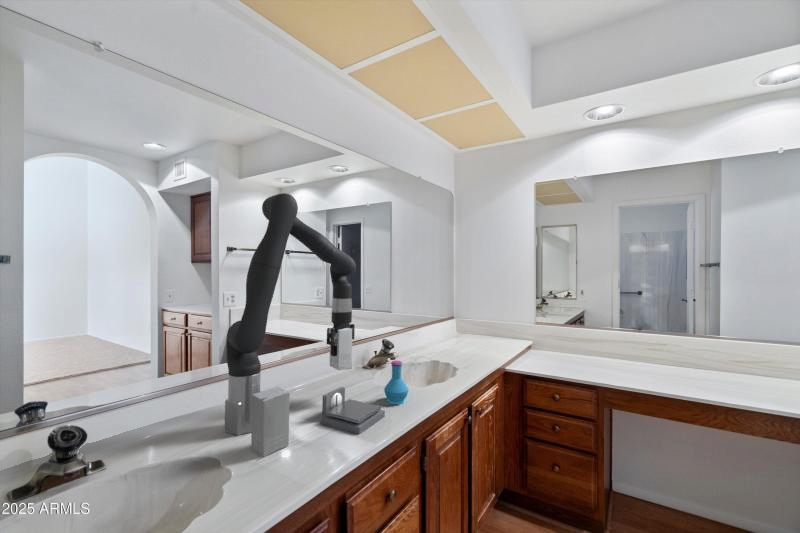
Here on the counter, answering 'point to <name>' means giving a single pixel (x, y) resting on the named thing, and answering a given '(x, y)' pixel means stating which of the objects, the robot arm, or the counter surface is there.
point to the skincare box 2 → (342, 350)
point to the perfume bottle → (396, 385)
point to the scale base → (332, 401)
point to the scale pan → (353, 411)
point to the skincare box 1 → (270, 421)
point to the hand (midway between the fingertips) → (340, 353)
